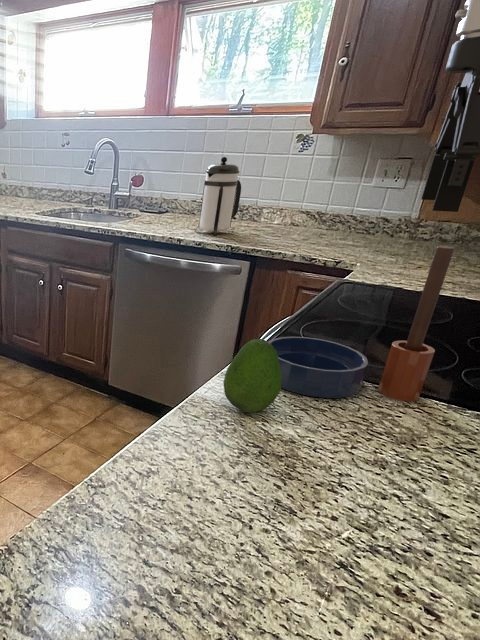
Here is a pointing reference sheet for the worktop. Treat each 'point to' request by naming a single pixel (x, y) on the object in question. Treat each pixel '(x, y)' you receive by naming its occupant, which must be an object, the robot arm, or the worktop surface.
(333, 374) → the bowl
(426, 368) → the crock
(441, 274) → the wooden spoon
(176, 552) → the worktop surface
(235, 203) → the coffee press
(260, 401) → the avocado
